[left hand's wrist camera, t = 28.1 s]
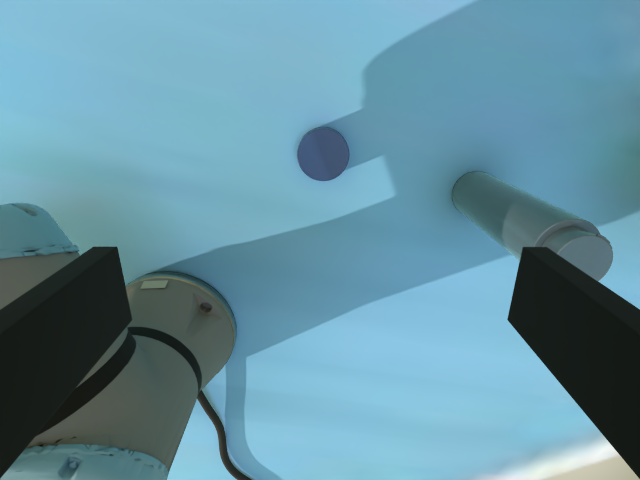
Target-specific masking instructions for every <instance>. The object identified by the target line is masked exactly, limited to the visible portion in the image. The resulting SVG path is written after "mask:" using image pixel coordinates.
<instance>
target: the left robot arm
mask: <svg viewBox="0 0 640 480" xmlns="http://www.w3.org/2000/svg"><path fill="white" fill-rule="evenodd" d="M78 251H79V249H78V247H77V246H76V245H73V244H72V243H71V242H70V241H69V239H68V238H67V237H66V235H65V234H64V233H63V231H62V230H61V229H60V227H59V226H58V225H57V223H56V222H55V221H54V219H53V218H52V217H51V215H50V214H49V213H48V212H46V211H45V210H44V209H42V208H40V207H38V206H36V205H32V204H27V203H12V204H5V205H0V480H167V477H168V473H169V470H170V468H171V465H172V462H173V460H174V457H175V455H176V452H177V449H178V447H179V444H180V441H181V439H182V436H183V434H184V431H185V428H186V426H187V423H188V420H189V418H190V415H191V413H192V410H193V407H194V405H195V402H196V399H198V401H199V402H200V404H201V406H202V407H203V409H204V410H205V412H206V413H207V415H208V416H209V418H210V419H211V420H212V422H213V424H214V425H215V428H216V430H217V433H218V439H219V449H220V455H221V459H222V461H223V464H224V465H225V467H226V469H227V470H228V471H229V473H230V474H231V475H232V476H233V477H235V478H236V479H237V480H251V479H250V478H248V477H247V476H245V475H244V474H242V473H241V472H239V471H238V470H237V469H236V468H235V467H234V466H233V464H232V463H231V461H230V459H229V457H228V453H227V447H226V436H225V431H224V428H223V425H222V423H221V421H220V419H219V417H218V416H217V414H216V412H215V411H214V410H213V408H212V407H211V405H210V404H209V402H208V400H207V398H206V397H205V395H204V393H203V392H202V389H203V388H204V387H205V386H206V385H207V384H208V382H209V381H210V380H211V379H212V378H213V377H214V376H215V375H216V374H217V373H218V372H219V371H220V370H221V369H222V368H223V367H224V365H225V364H226V362H227V361H228V359H229V357H230V355H231V353H232V350H233V347H234V344H235V340H236V322H235V318H234V315H233V313H232V310H231V309H230V307H229V305H228V304H227V302H226V301H225V299H224V298H223V297H222V296H221V295H220V294H219V293H218V292H217V291H216V290H215V289H214V288H212V287H211V286H209V285H208V284H206V283H205V282H203V281H201V280H199V279H197V278H195V277H192V276H189V275H186V274H181V273H176V272H156V273H151V274H147V275H144V276H141V277H139V278H137V279H135V280H133V281H132V282H130V283H129V284H128V285H127V286H126V287H125V282H124V277H123V272H122V267H121V263H120V258H119V253H118V248H117V247H93V248H91V249H90V250H88V251H87V252H85V253H84V254H82V255H81V256H80V255H79V253H78ZM508 321H509V322H510V323H511V325H512V326H513V327H514V328H515V329H516V331H517V332H518V333H519V334H520V335H521V337H522V338H523V339H524V340H525V341H526V343H527V344H528V345H529V346H530V347H531V349H532V350H533V351H534V352H535V353H536V355H537V356H538V357H539V358H540V359H541V361H542V362H543V363H544V364H545V365H546V367H547V368H548V369H549V370H550V371H551V373H552V374H553V375H554V376H555V378H556V379H557V380H558V381H559V382H560V384H561V385H562V386H563V387H564V388H565V390H566V391H567V392H568V393H569V394H570V396H571V397H572V398H573V399H574V400H575V402H576V403H577V404H578V405H579V406H580V408H581V409H582V410H583V411H584V412H585V414H586V415H587V416H588V417H589V418H590V420H591V421H592V422H593V423H594V424H595V426H596V427H597V428H598V429H599V430H600V432H601V433H602V434H603V435H604V436H605V438H606V439H607V440H608V441H609V442H610V444H611V445H612V446H613V447H614V448H615V450H616V451H617V452H618V453H619V454H620V456H621V457H622V458H623V459H624V460H625V462H626V463H627V464H628V465H629V467H630V468H631V469H632V470H633V471H634V472H635V474H636V475H637V476H638V477H639V478H640V310H639V309H638V308H637V307H635V306H634V305H632V304H631V303H629V302H628V301H626V300H625V299H623V298H622V297H620V296H619V295H617V294H616V293H614V292H613V291H611V290H610V289H608V288H607V287H605V286H604V285H602V284H601V283H599V282H598V281H596V280H595V279H593V278H592V277H591V276H589V275H588V274H586V273H585V272H583V271H582V270H580V269H579V268H577V267H576V266H574V265H573V264H571V263H570V262H568V261H567V260H565V259H564V258H562V257H561V256H559V255H558V254H556V253H555V252H553V251H552V250H550V249H549V248H547V247H523V248H522V253H521V258H520V263H519V267H518V272H517V277H516V282H515V287H514V291H513V296H512V301H511V306H510V310H509V315H508Z"/></svg>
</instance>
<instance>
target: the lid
mask: <svg viewBox="0 0 640 480" xmlns="http://www.w3.org/2000/svg"><path fill="white" fill-rule="evenodd" d="M297 156H298V162H299V165H300V167H301V169H302V170H303V172H304V173H305V174H306V175H307V176H309V177H310V178H312V179H315V180H319V181H328V180H332V179H334V178H336V177H338V176H339V175H340V174H341V173H342V172H343V171H344V170H345V168H346V166H347V164H348V160H349V149H348V146H347V143H346V141H345V139H344V138H343V136H342V135H341V134H340V133H339V132H337V131H336V130H334V129H331V128H328V127H319V128H315V129H313V130H311V131H309V132H308V133H307V134H306V135H305V136H304V137H303V138H302V140H301V142H300V145H299V148H298V154H297Z"/></svg>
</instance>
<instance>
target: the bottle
mask: <svg viewBox="0 0 640 480" xmlns="http://www.w3.org/2000/svg"><path fill="white" fill-rule="evenodd" d="M452 201H453V203H454V205H455V207H456V208H457V209H458V210H459V211H460V212H462V213H463V214H464V215H465V216H466V217H467V218H469V219H470V220H471V221H472V222H473V223H475V224H476V225H477V226H478V227H479V228H481V229H482V230H483V231H484V232H485V233H487V234H488V235H489V236H490V237H491V238H493V239H494V240H495V241H496V242H497V243H499V244H500V245H501V246H502V247H503V248H505V249H506V250H507V251H508V252H509V253H511V254H512V255H513V256H514V257H515V258H517V259H518V260H519V261H520V258H521V253H522V248H523V247H547V248H549V249H550V250H552V251H553V252H555V253H556V254H558V255H559V256H561V257H562V258H564V259H565V260H567V261H568V262H570V263H571V264H573V265H574V266H576V267H577V268H579V269H580V270H582V271H583V272H585V273H586V274H588V275H589V276H591V277H592V278H593V279H595V280H596V281H599V280H600V279H601V278H602V277H603V276H604V275H605V274H606V273H607V272H608V270H609V268H610V266H611V264H612V260H613V252H612V247H611V245H610V242H609V241H608V240H607V239H606V237H604V236H602V235H600V233H599V231H598V229H597V228H596V227H595V226H594V225H593V224H591V223H590V222H588V221H586V220H584V219H582V218H580V217H577V216H575V215H573V214H571V213H569V212H567V211H565V210H563V209H561V208H558V207H556V206H554V205H552V204H550V203H548V202H546V201H544V200H542V199H540V198H537V197H535V196H533V195H531V194H529V193H527V192H525V191H523V190H521V189H518V188H516V187H514V186H512V185H510V184H508V183H506V182H504V181H502V180H500V179H497V178H495V177H493V176H491V175H489V174H487V173H485V172H481V171H474V172H470V173H467V174H465V175H464V176H462V177H461V178H460V179H459V180H458V181H457V182H456V184H455V186H454V188H453V191H452Z"/></svg>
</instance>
